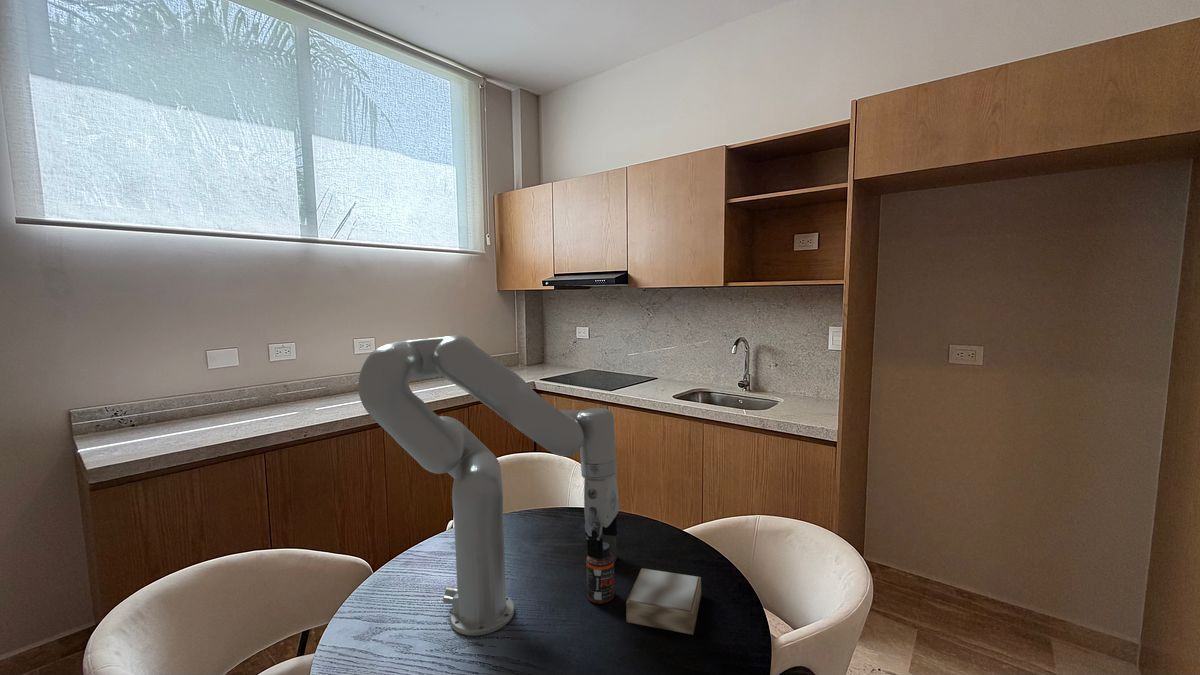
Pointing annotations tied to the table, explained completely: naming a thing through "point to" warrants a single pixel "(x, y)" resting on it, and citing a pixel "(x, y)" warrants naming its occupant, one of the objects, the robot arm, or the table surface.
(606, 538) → the bottle
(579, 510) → the table surface
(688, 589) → the grey square box
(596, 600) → the supplement bottle
